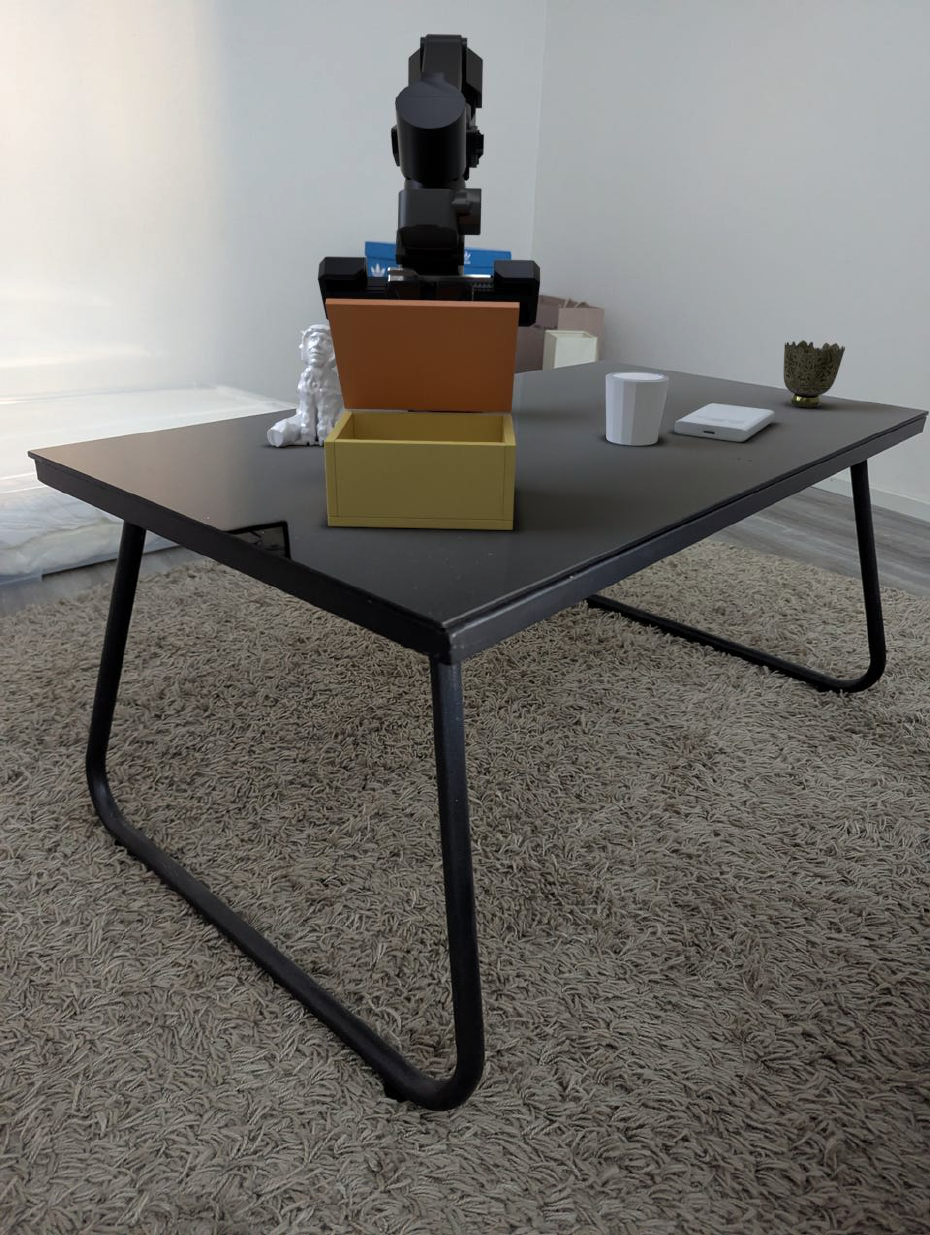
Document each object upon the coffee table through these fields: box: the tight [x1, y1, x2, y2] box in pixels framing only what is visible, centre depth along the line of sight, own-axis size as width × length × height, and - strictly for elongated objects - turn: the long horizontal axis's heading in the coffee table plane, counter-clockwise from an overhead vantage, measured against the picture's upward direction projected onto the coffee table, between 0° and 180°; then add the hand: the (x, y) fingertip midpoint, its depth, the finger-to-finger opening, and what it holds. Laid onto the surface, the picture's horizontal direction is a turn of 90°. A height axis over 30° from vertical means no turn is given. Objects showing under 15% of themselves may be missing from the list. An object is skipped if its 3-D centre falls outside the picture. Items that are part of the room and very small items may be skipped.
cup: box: [783, 339, 846, 409], centre depth 118 cm, size 8×7×8 cm
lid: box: [326, 299, 519, 413], centre depth 73 cm, size 12×15×1 cm
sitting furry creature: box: [266, 323, 350, 448], centre depth 95 cm, size 10×9×12 cm
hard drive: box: [673, 402, 775, 443], centre depth 106 cm, size 2×8×12 cm
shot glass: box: [605, 370, 671, 446], centre depth 99 cm, size 7×7×7 cm
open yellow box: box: [323, 410, 517, 531], centre depth 75 cm, size 12×15×7 cm
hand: (426, 372), depth 75 cm, fingers closed, pressing on lid
